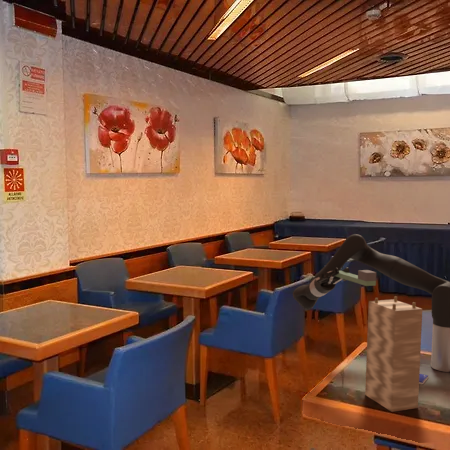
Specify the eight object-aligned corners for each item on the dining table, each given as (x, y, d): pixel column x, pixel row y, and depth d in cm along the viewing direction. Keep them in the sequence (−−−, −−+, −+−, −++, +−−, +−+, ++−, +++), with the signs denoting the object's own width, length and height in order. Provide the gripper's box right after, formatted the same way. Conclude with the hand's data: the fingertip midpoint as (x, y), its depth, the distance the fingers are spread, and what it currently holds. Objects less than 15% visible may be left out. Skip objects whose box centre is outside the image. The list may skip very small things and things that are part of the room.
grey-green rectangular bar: (331, 275, 199) (332, 263, 199) (340, 274, 200) (341, 262, 200) (366, 285, 179) (366, 272, 178) (375, 285, 180) (376, 272, 180)
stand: (365, 394, 175) (368, 296, 172) (389, 391, 178) (393, 295, 176) (391, 411, 162) (396, 306, 159) (417, 407, 165) (422, 304, 162)
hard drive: (428, 374, 192) (394, 367, 199) (423, 381, 185) (388, 373, 192) (428, 379, 192) (394, 371, 199) (422, 385, 185) (388, 378, 192)
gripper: (304, 277, 209) (324, 261, 195) (335, 275, 214) (356, 260, 199) (308, 294, 206) (329, 280, 192) (339, 292, 211) (361, 278, 196)
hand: (343, 270), depth 196 cm, fingers closed on grey-green rectangular bar, 4 cm apart
